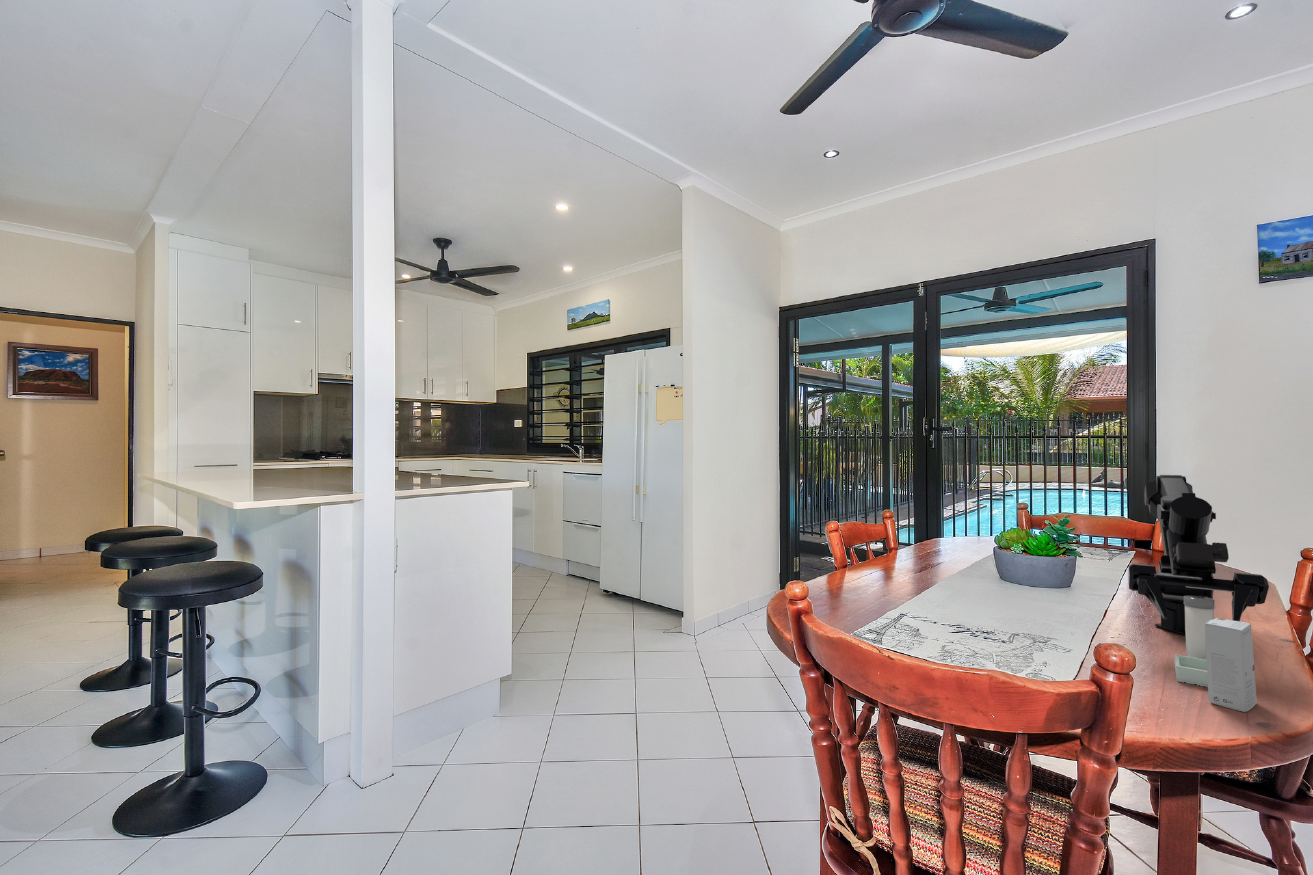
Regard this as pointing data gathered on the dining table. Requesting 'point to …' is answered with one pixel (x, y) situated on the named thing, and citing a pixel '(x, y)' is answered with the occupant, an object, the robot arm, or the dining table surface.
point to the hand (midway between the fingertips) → (1199, 622)
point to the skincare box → (1230, 664)
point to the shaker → (1197, 624)
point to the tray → (1191, 670)
